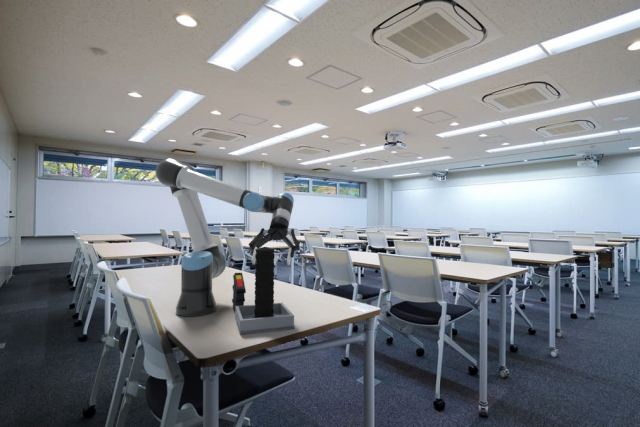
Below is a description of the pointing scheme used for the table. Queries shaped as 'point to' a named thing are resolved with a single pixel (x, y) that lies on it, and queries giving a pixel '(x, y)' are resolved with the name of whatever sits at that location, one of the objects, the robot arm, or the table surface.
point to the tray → (263, 319)
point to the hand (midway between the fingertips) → (270, 263)
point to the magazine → (238, 290)
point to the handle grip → (264, 282)
